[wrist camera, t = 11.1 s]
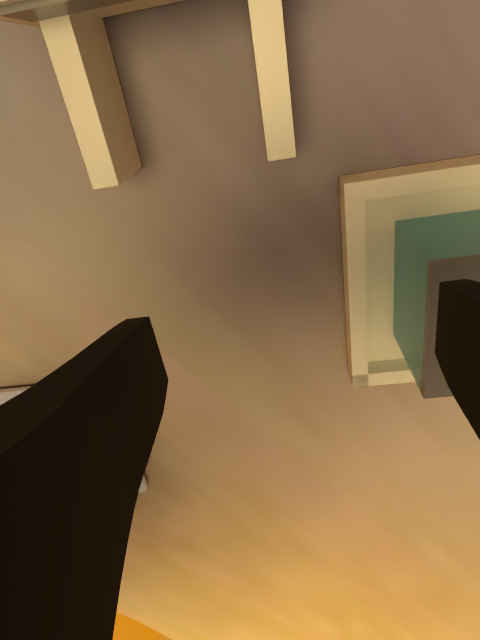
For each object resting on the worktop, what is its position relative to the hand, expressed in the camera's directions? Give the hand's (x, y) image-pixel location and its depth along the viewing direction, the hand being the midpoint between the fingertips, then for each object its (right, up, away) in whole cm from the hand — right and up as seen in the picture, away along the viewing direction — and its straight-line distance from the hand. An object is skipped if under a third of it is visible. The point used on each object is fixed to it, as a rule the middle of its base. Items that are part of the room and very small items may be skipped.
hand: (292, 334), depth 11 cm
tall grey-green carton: (+8, +2, +10) cm, 13 cm away
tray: (+8, +3, +10) cm, 13 cm away
